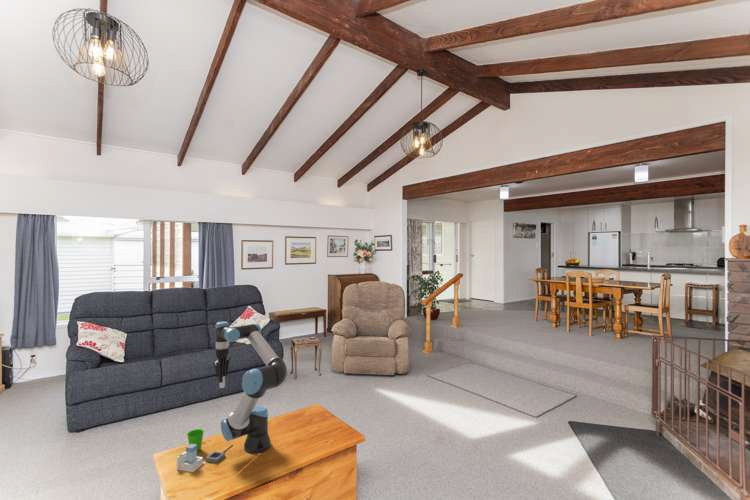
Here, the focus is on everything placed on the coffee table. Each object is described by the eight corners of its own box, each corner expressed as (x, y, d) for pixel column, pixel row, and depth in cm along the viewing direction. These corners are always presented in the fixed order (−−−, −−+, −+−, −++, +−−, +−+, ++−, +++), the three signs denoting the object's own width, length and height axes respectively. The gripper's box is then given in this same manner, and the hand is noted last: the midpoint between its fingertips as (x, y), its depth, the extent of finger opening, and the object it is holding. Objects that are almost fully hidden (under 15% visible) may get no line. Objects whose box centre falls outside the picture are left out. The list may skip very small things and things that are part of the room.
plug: (197, 464, 205) (197, 444, 205) (192, 468, 201) (192, 448, 201) (191, 463, 206) (191, 443, 206) (185, 467, 202) (185, 447, 202)
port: (205, 463, 207) (205, 449, 207) (192, 473, 197) (192, 458, 198) (190, 460, 210) (190, 446, 210) (176, 470, 200) (176, 456, 200)
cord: (233, 446, 225) (233, 444, 225) (220, 456, 214) (220, 454, 214) (232, 446, 225) (232, 444, 225) (219, 456, 214) (219, 454, 214)
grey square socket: (224, 457, 213) (224, 452, 213) (216, 464, 206) (216, 459, 206) (214, 455, 215) (214, 451, 215) (205, 462, 208) (205, 457, 208)
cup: (197, 456, 214) (197, 436, 214) (183, 454, 216) (183, 435, 216) (207, 448, 223) (207, 429, 223) (193, 446, 224) (193, 428, 225)
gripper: (223, 345, 234) (223, 383, 234) (209, 350, 222) (209, 390, 222) (234, 345, 232) (234, 384, 232) (220, 351, 220) (220, 391, 220)
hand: (222, 387), depth 227 cm, fingers closed
